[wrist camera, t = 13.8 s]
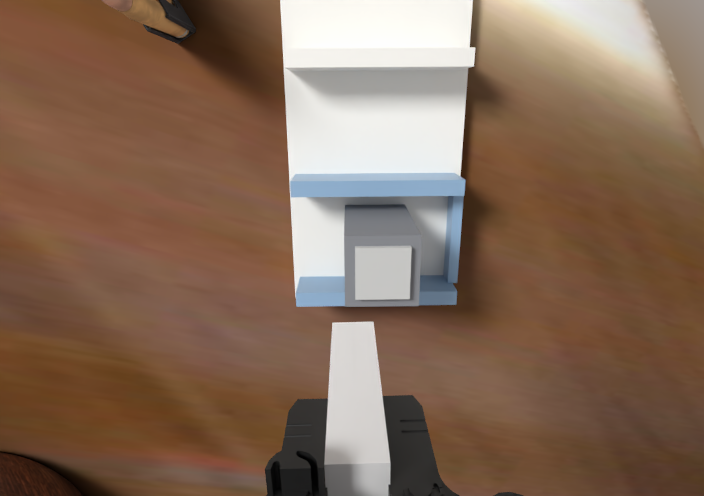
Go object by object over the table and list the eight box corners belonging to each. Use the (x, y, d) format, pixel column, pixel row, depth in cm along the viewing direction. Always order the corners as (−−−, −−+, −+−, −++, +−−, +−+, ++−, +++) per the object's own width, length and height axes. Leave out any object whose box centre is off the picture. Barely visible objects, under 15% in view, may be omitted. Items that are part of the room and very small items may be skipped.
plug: (344, 204, 37) (344, 237, 28) (404, 204, 37) (423, 237, 28) (345, 261, 38) (344, 309, 29) (402, 260, 38) (419, 308, 29)
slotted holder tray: (277, -99, 31) (265, -131, 27) (476, -99, 31) (497, -131, 27) (296, 293, 40) (290, 316, 36) (449, 292, 40) (461, 314, 36)
